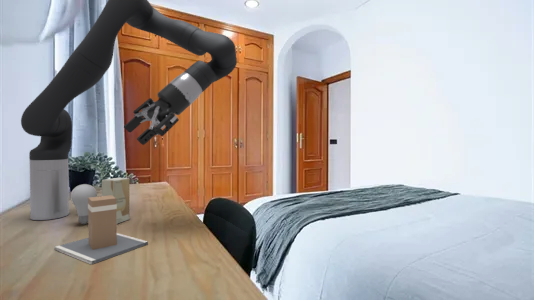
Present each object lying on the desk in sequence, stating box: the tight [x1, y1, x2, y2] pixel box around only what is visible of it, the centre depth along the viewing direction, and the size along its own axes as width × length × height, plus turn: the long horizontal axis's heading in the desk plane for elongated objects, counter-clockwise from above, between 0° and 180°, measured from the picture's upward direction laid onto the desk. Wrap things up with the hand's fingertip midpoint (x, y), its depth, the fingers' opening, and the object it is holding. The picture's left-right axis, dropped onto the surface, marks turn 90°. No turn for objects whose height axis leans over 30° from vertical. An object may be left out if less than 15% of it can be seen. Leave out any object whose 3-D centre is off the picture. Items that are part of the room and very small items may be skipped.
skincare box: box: [101, 177, 130, 224], centre depth 80 cm, size 6×4×12 cm
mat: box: [54, 232, 149, 265], centre depth 61 cm, size 14×12×1 cm
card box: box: [87, 195, 118, 250], centre depth 61 cm, size 5×5×10 cm
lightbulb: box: [69, 183, 98, 225], centre depth 77 cm, size 6×6×11 cm
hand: (132, 136), depth 70 cm, fingers open, 8 cm apart
